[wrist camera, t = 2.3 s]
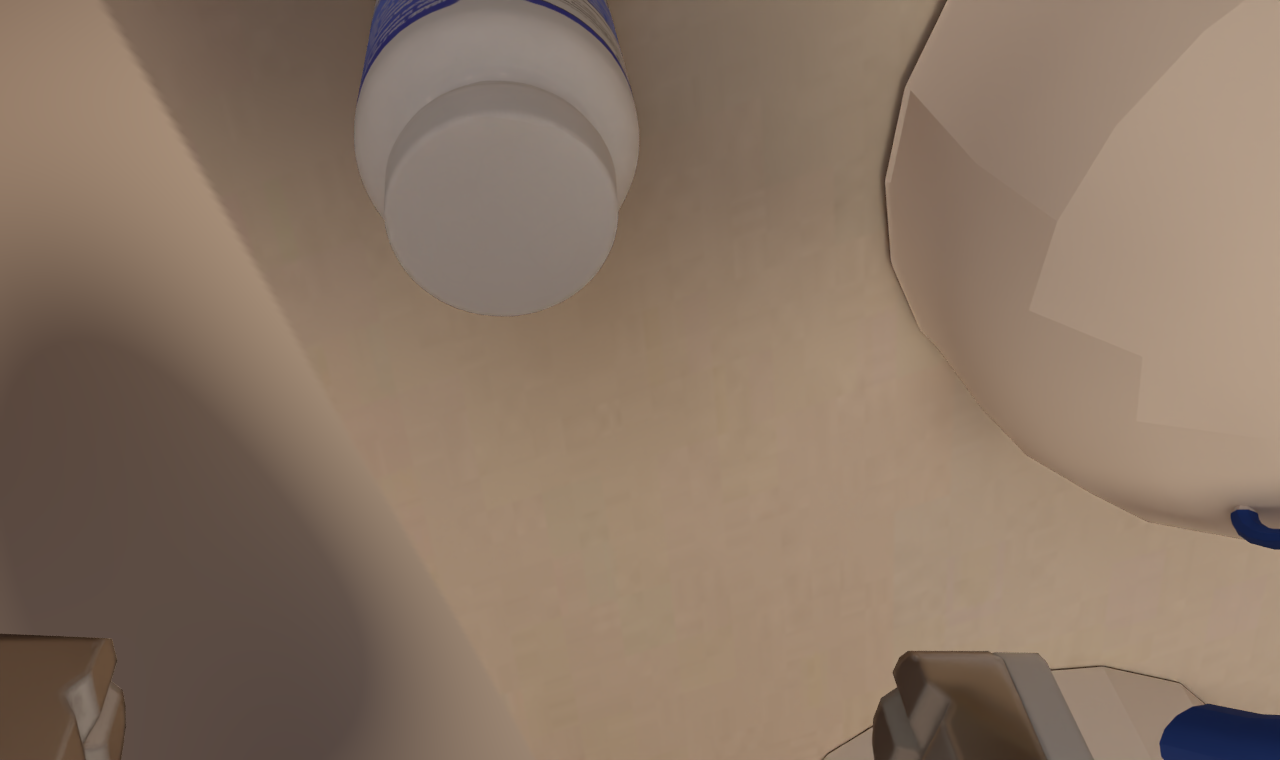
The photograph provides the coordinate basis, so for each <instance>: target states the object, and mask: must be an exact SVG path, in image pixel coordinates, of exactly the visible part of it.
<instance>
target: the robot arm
mask: <svg viewBox="0 0 1280 760" xmlns="http://www.w3.org/2000/svg"><path fill="white" fill-rule="evenodd" d="M116 663H117V658H116V654H115V650H114V646H113V641H112V639H107V638H86V637H63V636H40V635H16V634H0V760H121V755H122V749H123V743H124V735H125V728H126V715H125V714H126V713H125V701H124V695H123V690H122V689H120V688H119V687H118V686H117V685H115V684H114V683H113V682H111V679H112V676H113V673H114V669H115V666H116ZM893 675H894V678H895V681H896V684H897V688H895V689H894V690H892V691H891V692H889V693H888V694H886V695H885V696H884V697H882V698H881V700H880V702H879V705H878V708H877V710H876V713H875V715H874V718H873V732H872V747H873V754H874V760H1094V759H1093V756H1092V754H1091V752H1090V750H1089V748H1088V746H1087V744H1086V742H1085V740H1084V738H1083V736H1082V734H1081V732H1080V730H1079V728H1078V726H1077V723H1076V721H1075V719H1074V717H1073V715H1072V713H1071V711H1070V709H1069V707H1068V705H1067V703H1066V701H1065V699H1064V697H1063V695H1062V693H1061V691H1060V688H1059V686H1058V684H1057V682H1056V680H1055V678H1054V676H1053V674H1052V672H1051V670H1050V668H1049V666H1048V664H1047V662H1046V661H1045V660H1044V659H1043V658H1042V657H1041V656H1040V655H1039V654H1038V653H1002V652H995V653H991V652H989V651H907V652H906V653H905V654H903V655H902V656H901V657H899V660H898V662H897V664H896V666H895V668H894V670H893Z"/></svg>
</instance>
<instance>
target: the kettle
mask: <svg viewBox="0 0 1280 760" xmlns="http://www.w3.org/2000/svg"><path fill="white" fill-rule="evenodd" d="M885 188H886V201H887V215H888V228H889V241H890V254H891V264H892V266H893V268H894V271H895V273H896V275H897V278H898V280H899V282H900V285H901V287H902V289H903V292H904V294H905V296H906V299H907V301H908V304H909V306H910V308H911V311H912V313H913V315H914V318H915V320H916V322H917V325H918V327H919V329H920V330H921V331H922V332H923V333H924V334H925V336H926V337H927V338H928V339H929V340H930V341H931V342H932V343H933V344H934V345H935V346H936V347H937V348H938V349H939V350H940V352H941V353H942V355H943V356H944V357H945V359H946V360H947V362H948V363H949V364H950V366H951V367H952V368H953V370H954V371H955V373H956V374H957V375H958V377H959V378H960V379H961V381H962V382H963V384H964V385H965V386H966V388H967V389H968V390H969V392H970V393H971V395H972V396H973V397H974V399H975V400H976V401H977V403H978V404H979V406H980V407H981V408H982V409H983V410H984V411H985V412H986V413H987V414H988V415H989V416H990V417H991V418H992V419H993V421H994V422H995V423H996V424H997V425H998V426H999V427H1000V428H1001V429H1002V430H1003V431H1004V432H1005V433H1006V434H1007V435H1008V436H1009V437H1010V438H1011V440H1012V441H1013V442H1014V443H1015V444H1016V445H1017V446H1018V447H1019V448H1020V449H1021V450H1022V451H1023V452H1024V453H1025V454H1026V455H1027V456H1029V457H1031V458H1032V459H1034V460H1036V461H1037V462H1039V463H1041V464H1042V465H1044V466H1046V467H1048V468H1049V469H1051V470H1053V471H1054V472H1056V473H1058V474H1059V475H1061V476H1063V477H1065V478H1066V479H1068V480H1070V481H1071V482H1073V483H1075V484H1076V485H1078V486H1080V487H1081V488H1083V489H1085V490H1087V491H1088V492H1090V493H1092V494H1094V495H1096V496H1098V497H1100V498H1102V499H1104V500H1105V501H1107V502H1109V503H1111V504H1113V505H1115V506H1117V507H1119V508H1121V509H1123V510H1125V511H1127V512H1129V513H1131V514H1133V515H1135V516H1137V517H1139V518H1141V519H1143V520H1145V521H1147V522H1150V523H1156V524H1161V525H1167V526H1172V527H1178V528H1183V529H1189V530H1194V531H1199V532H1205V533H1210V534H1216V535H1221V536H1227V537H1233V538H1238V539H1244V540H1247V541H1248V542H1250V543H1252V544H1256V545H1260V546H1263V547H1267V548H1271V549H1279V550H1280V0H947V2H946V4H945V6H944V8H943V10H942V13H941V15H940V17H939V19H938V21H937V23H936V25H935V27H934V29H933V31H932V33H931V35H930V37H929V39H928V41H927V43H926V45H925V47H924V49H923V52H922V54H921V56H920V58H919V60H918V62H917V64H916V66H915V68H914V70H913V72H912V74H911V76H910V78H909V80H908V82H907V84H906V86H905V90H904V94H903V99H902V104H901V109H900V113H899V118H898V123H897V127H896V132H895V137H894V141H893V146H892V151H891V156H890V160H889V165H888V170H887V174H886V179H885ZM1159 745H1160V752H1161V757H1162V758H1163V759H1164V760H1280V715H1264V714H1257V713H1252V712H1247V711H1242V710H1237V709H1232V708H1227V707H1222V706H1217V705H1212V704H1205V705H1199V706H1193V707H1191V708H1189V709H1187V710H1185V711H1184V712H1182V713H1180V714H1178V715H1177V716H1175V717H1174V719H1173V720H1172V721H1171V722H1170V723H1169V724H1168V725H1167V726H1166V728H1165V729H1164V731H1163V734H1162V737H1161V740H1160V743H1159Z"/></svg>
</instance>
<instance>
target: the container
mask: <svg viewBox="0 0 1280 760" xmlns="http://www.w3.org/2000/svg"><path fill="white" fill-rule="evenodd" d="M1051 672H1052V674H1053V676H1054V678H1055V680H1056V682H1057V684H1058V686H1059V688H1060V691H1061V693H1062V695H1063V697H1064V699H1065V701H1066V703H1067V705H1068V707H1069V709H1070V711H1071V713H1072V715H1073V717H1074V719H1075V721H1076V723H1077V726H1078V728H1079V730H1080V732H1081V734H1082V736H1083V738H1084V740H1085V742H1086V744H1087V746H1088V748H1089V750H1090V752H1091V754H1092V756H1093V759H1094V760H1164V759H1163V758H1162V757H1161V752H1160V745H1159V743H1160V740H1161V737H1162V734H1163V731H1164V729H1165V728H1166V726H1167V725H1168V724H1169V723H1170V722H1171V721H1172V720H1173V719H1174V717H1175V716H1177V715H1178V714H1180V713H1182V712H1184V711H1185V710H1187V709H1189V708H1191V707H1193V706H1199V705H1205V704H1204V703H1203V702H1202V701H1201V700H1199V699H1198V698H1197V697H1196V696H1195V695H1193V694H1192V693H1191V692H1190V691H1189V690H1188V689H1186V688H1185V687H1184V686H1183V685H1182V684H1180V683H1176V682H1171V681H1167V680H1162V679H1158V678H1153V677H1148V676H1144V675H1139V674H1135V673H1130V672H1125V671H1121V670H1116V669H1111V668H1107V667H1092V668H1080V669H1067V670H1055V671H1051ZM872 732H873V727H872V728H870V729H868V730H867V731H865V732H864V733H862V734H860V735H859V736H857V737H855V738H854V739H852V740H851V741H849V742H847V743H846V744H844V745H842V746H841V747H839V748H838V749H836V750H834V751H833V752H831V753H829V754H828V755H827V756H826V757H825V758H824V759H823V760H874V754H873V747H872Z"/></svg>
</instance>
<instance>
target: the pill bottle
mask: <svg viewBox="0 0 1280 760" xmlns="http://www.w3.org/2000/svg"><path fill="white" fill-rule="evenodd" d="M354 147H355V155H356V161H357V166H358V170H359V174H360V177H361V180H362V182H363V185H364V187H365V189H366V191H367V194H368V196H369V198H370V200H371V201H372V203H373V205H374V206H375V208H376V210H377V211H378V212H379V214H380V215H381V216H382V218H383V219H384V220H385V228H386V232H387V236H388V238H389V241H390V244H391V247H392V249H393V251H394V253H395V255H396V257H397V259H398V261H399V262H400V264H401V265H402V267H403V268H404V270H405V271H406V272H407V273H408V275H409V276H410V277H411V278H412V279H413V280H414V281H415V282H416V283H417V284H418V285H419V286H420V287H422V288H423V289H424V290H425V291H427V292H428V293H429V294H431V295H432V296H434V297H435V298H437V299H439V300H440V301H442V302H444V303H446V304H448V305H450V306H453V307H455V308H457V309H461V310H465V311H467V312H471V313H476V314H480V315H488V316H519V315H526V314H530V313H535V312H539V311H542V310H545V309H547V308H550V307H552V306H554V305H557V304H559V303H561V302H563V301H565V300H567V299H568V298H570V297H571V296H573V295H574V294H576V293H577V292H578V291H580V290H581V289H582V288H583V287H584V286H585V285H587V284H588V283H589V282H590V281H591V280H592V279H593V277H594V276H595V275H596V274H597V272H598V271H599V270H600V269H601V267H602V265H603V264H604V262H605V260H606V258H607V257H608V254H609V252H610V250H611V248H612V246H613V243H614V239H615V236H616V231H617V225H618V210H619V209H620V207H621V205H622V204H623V202H624V200H625V198H626V196H627V193H628V191H629V189H630V186H631V184H632V181H633V178H634V175H635V172H636V167H637V162H638V155H639V125H638V118H637V113H636V107H635V103H634V99H633V95H632V90H631V86H630V83H629V80H628V75H627V71H626V67H625V64H624V60H623V57H622V53H621V49H620V46H619V42H618V38H617V35H616V31H615V27H614V23H613V20H612V16H611V13H610V9H609V6H608V3H607V0H376V3H375V8H374V14H373V18H372V24H371V29H370V35H369V41H368V46H367V51H366V57H365V62H364V68H363V74H362V79H361V84H360V89H359V95H358V100H357V105H356V113H355V121H354Z"/></svg>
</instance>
